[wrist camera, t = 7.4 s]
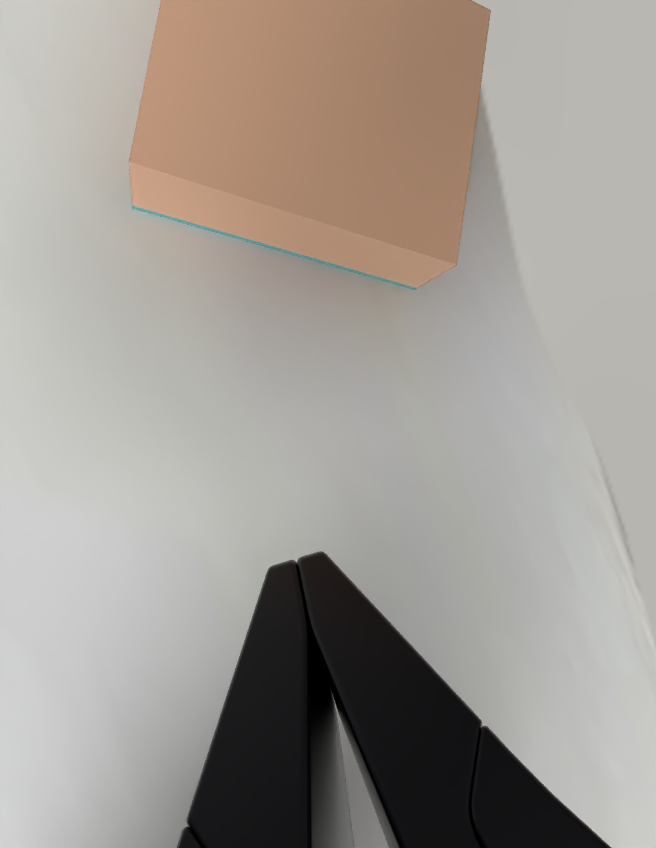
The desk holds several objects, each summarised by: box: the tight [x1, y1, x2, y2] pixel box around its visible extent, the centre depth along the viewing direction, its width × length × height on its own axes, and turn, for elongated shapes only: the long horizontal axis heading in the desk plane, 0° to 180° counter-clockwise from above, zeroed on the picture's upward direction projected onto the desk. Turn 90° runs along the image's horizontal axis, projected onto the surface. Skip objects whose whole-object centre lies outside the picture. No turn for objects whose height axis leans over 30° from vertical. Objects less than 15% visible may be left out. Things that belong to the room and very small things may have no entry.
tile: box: [129, 0, 491, 289], centre depth 17 cm, size 3×10×9 cm
